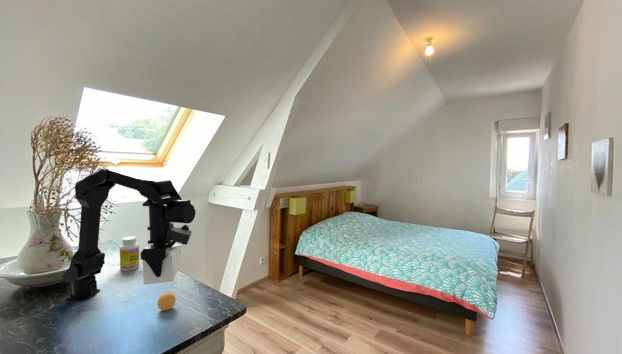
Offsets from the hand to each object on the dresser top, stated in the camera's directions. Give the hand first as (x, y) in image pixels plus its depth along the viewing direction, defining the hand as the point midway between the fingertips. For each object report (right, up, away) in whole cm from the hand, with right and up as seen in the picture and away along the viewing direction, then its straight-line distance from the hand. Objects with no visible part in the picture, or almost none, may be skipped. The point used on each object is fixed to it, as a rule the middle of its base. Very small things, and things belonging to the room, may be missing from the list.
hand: (161, 271), depth 83 cm
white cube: (0, -2, 0) cm, 2 cm away
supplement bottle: (-30, -9, +30) cm, 43 cm away
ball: (+1, -10, +1) cm, 10 cm away
